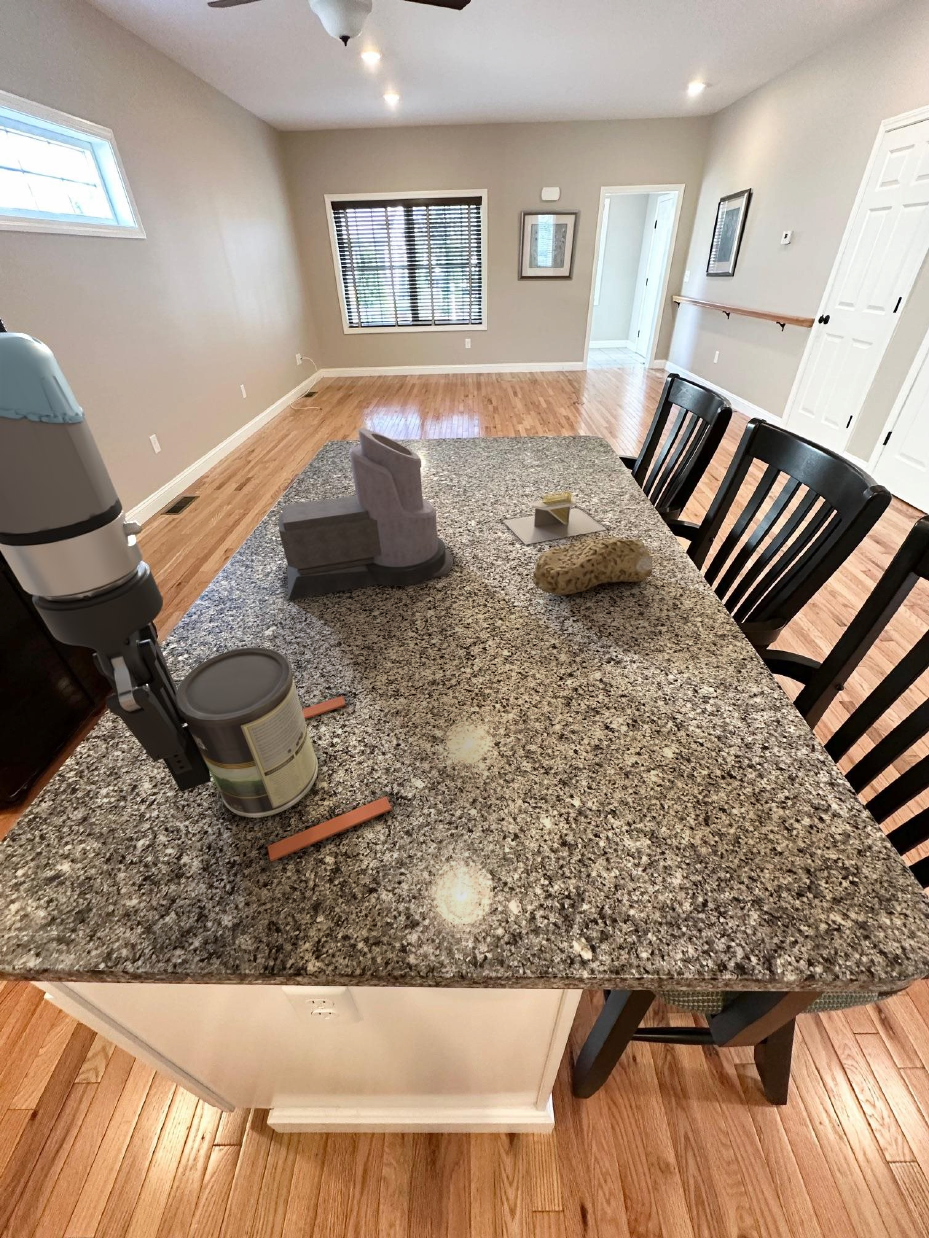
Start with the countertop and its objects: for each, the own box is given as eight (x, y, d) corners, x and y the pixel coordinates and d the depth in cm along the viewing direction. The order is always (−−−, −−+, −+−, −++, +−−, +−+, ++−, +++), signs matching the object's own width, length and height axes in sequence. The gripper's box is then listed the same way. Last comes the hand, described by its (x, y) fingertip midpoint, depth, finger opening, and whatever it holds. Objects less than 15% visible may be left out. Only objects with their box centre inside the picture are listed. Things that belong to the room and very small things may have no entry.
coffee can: (222, 833, 51) (171, 735, 42) (220, 757, 58) (177, 662, 50) (327, 797, 54) (298, 699, 46) (311, 730, 62) (284, 636, 53)
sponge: (626, 565, 94) (522, 551, 91) (645, 530, 89) (534, 514, 86) (646, 615, 85) (531, 601, 82) (668, 580, 80) (545, 564, 77)
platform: (606, 529, 104) (611, 498, 100) (525, 544, 100) (527, 513, 96) (577, 508, 113) (580, 479, 110) (502, 520, 109) (502, 491, 105)
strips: (270, 861, 48) (270, 860, 48) (245, 730, 62) (244, 728, 62) (391, 809, 52) (391, 808, 52) (342, 697, 66) (342, 695, 66)
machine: (440, 537, 103) (432, 409, 89) (463, 575, 91) (458, 433, 77) (286, 562, 97) (252, 428, 83) (288, 606, 84) (248, 457, 70)
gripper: (145, 605, 34) (243, 817, 48) (147, 530, 44) (228, 724, 57) (8, 637, 31) (153, 852, 45) (43, 551, 41) (153, 749, 55)
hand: (195, 780), depth 51 cm, fingers closed
